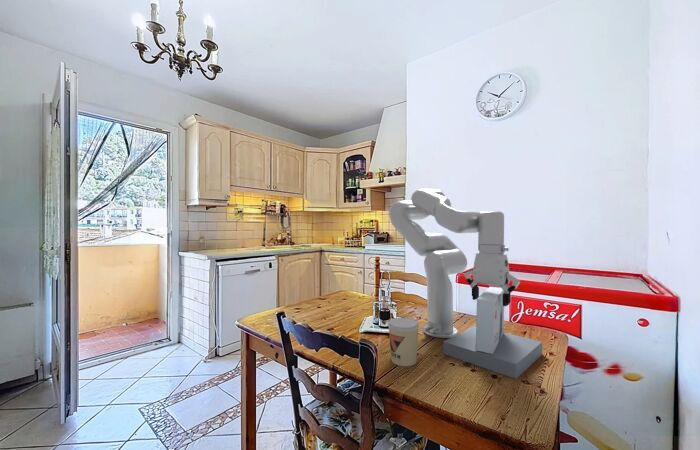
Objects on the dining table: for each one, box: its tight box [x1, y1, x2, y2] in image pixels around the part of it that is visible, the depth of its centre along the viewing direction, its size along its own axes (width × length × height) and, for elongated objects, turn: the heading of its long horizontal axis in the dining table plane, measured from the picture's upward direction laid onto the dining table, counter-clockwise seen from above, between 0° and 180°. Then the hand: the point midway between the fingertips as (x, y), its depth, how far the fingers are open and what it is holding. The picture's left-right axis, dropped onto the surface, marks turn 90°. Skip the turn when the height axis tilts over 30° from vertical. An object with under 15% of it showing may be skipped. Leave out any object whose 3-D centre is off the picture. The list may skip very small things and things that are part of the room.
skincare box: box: [475, 286, 505, 354], centre depth 98 cm, size 21×6×16 cm, turn 145°
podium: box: [442, 324, 543, 380], centre depth 98 cm, size 22×22×4 cm
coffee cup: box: [388, 317, 420, 367], centre depth 95 cm, size 9×9×12 cm
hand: (490, 302), depth 98 cm, fingers open, 9 cm apart
